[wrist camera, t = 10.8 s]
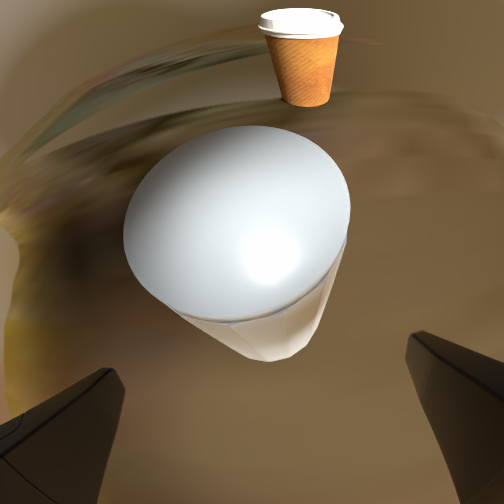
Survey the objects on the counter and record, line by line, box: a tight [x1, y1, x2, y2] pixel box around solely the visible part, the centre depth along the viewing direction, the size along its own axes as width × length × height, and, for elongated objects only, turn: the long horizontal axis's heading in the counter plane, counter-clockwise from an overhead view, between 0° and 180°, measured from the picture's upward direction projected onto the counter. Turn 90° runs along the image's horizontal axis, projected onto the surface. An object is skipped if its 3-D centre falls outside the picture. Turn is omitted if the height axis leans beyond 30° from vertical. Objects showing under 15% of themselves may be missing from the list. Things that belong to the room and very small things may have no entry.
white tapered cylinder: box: [123, 126, 350, 362], centre depth 13 cm, size 7×7×12 cm
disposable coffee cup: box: [259, 8, 343, 107], centre depth 26 cm, size 10×10×12 cm
